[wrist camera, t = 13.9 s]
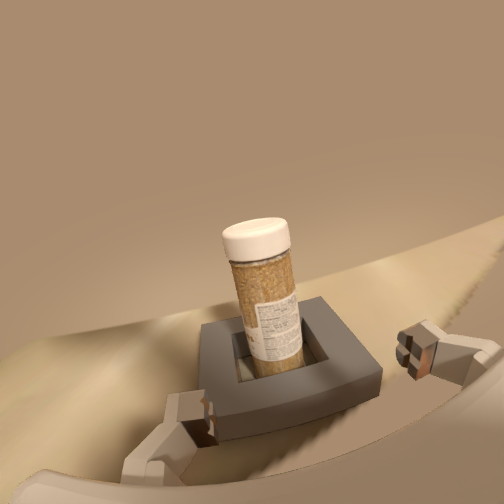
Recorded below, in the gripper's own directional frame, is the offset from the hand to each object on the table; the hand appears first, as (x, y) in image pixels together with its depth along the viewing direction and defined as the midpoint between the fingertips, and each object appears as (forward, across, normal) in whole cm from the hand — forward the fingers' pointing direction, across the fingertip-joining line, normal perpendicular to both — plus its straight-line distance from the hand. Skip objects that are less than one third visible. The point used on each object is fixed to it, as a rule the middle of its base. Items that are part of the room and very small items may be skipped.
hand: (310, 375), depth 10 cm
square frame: (+11, 0, +9) cm, 14 cm away
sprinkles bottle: (+10, 0, +9) cm, 14 cm away
